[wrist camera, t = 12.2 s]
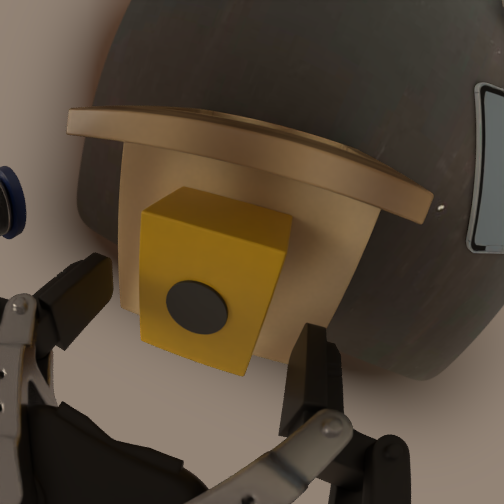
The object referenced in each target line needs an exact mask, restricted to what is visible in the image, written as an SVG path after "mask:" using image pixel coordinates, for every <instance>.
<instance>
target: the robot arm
mask: <svg viewBox="0 0 504 504" xmlns="http://www.w3.org/2000/svg"><path fill="white" fill-rule="evenodd" d="M12 226H13V207H12V202H11V198H10V195H9V192H8V190H7V187H6V185H5V184H4V182H3V181H2V180H1V179H0V236H2V235H4V234H6V233H8V232H9V231H10V230H11V229H12ZM112 294H113V273H112V261H111V259H110V258H108V257H106V256H103V255H101V254H98V253H92V254H91V255H90V256H88V257H87V258H86V259H84V260H80V261H78V262H75V263H73V264H71V265H70V266H68V267H67V268H66V269H64V270H63V272H61V273H59V274H58V275H57V277H54V278H53V279H52V280H51V281H49V282H48V283H47V284H46V285H44V286H43V287H42V288H41V289H40V290H38V291H37V292H36V293H35V294H34V295H32V296H31V295H30V294H25V293H23V294H18V295H15V296H13V297H12V298H11V299H10V300H8V299H5V298H1V297H0V504H291V503H292V502H294V501H295V500H296V499H297V498H298V497H299V496H300V495H301V494H302V493H304V491H305V490H306V489H307V488H308V485H309V484H310V482H311V481H313V480H314V478H319V479H321V480H323V481H326V482H329V483H331V488H330V495H329V502H328V504H411V473H410V454H409V449H408V446H407V444H406V443H405V442H404V441H403V440H402V439H401V438H400V437H398V436H395V435H384V436H382V437H380V438H379V439H378V440H376V439H374V438H371V437H369V436H366V435H364V434H362V433H359V432H358V431H356V430H354V429H353V426H352V423H351V421H350V420H349V418H348V417H347V416H346V415H344V406H343V384H342V377H341V376H342V368H341V355H340V353H339V351H338V349H337V347H336V345H335V344H334V343H330V342H327V338H326V328H325V327H322V326H319V325H315V324H311V323H305V325H304V327H303V329H302V331H301V333H300V335H299V337H298V339H297V341H296V343H295V345H294V347H293V349H292V352H291V355H290V358H289V362H288V369H287V378H286V385H285V393H284V401H283V408H282V414H281V422H280V428H279V436H283V437H287V438H286V439H285V440H284V441H283V442H281V443H280V444H279V445H278V446H276V447H275V448H274V449H272V450H271V451H268V452H266V453H264V454H263V455H261V456H260V457H259V458H257V459H256V460H254V461H253V462H251V463H250V464H249V465H247V466H246V467H244V468H243V469H241V470H240V471H238V472H237V473H235V474H234V475H232V476H231V477H229V478H228V479H226V480H224V481H223V482H221V483H219V484H218V485H216V486H215V487H213V488H211V489H208V488H207V487H206V485H205V484H204V483H203V482H202V481H201V480H200V479H199V478H198V477H197V476H195V475H194V474H192V473H191V472H190V471H188V470H187V469H185V468H184V467H183V464H184V462H183V460H180V459H177V458H175V457H172V456H169V455H167V454H164V453H161V452H159V451H156V450H154V449H151V448H148V447H143V446H138V445H133V444H129V443H124V442H120V441H116V440H114V439H112V438H111V437H110V436H108V435H107V434H106V433H105V432H104V431H103V430H101V429H100V428H99V427H98V426H97V425H96V424H95V423H94V422H93V421H92V420H91V419H90V418H88V417H87V416H86V415H84V414H82V413H80V412H79V411H77V410H76V409H74V408H72V407H70V406H69V405H68V404H66V403H65V402H63V401H62V402H61V404H60V405H59V407H58V406H57V402H56V399H55V396H54V389H53V351H52V349H53V347H54V346H55V345H56V346H58V347H59V348H61V349H63V350H64V351H65V350H66V349H67V348H68V346H69V345H70V344H71V343H72V342H73V341H74V340H75V338H76V337H77V336H78V335H79V334H80V333H81V331H82V330H83V329H84V328H85V327H86V326H87V325H88V324H89V323H90V321H91V320H92V319H93V318H94V317H95V316H96V315H97V314H98V313H99V312H100V311H101V310H102V309H103V307H104V306H105V305H106V304H107V303H108V302H109V301H110V299H111V297H112Z"/></svg>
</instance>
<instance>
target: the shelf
mask: <svg viewBox="0 0 504 504" xmlns="http://www.w3.org/2000/svg"><path fill="white" fill-rule="evenodd" d="M66 134H67V135H74V136H83V137H92V138H100V139H107V140H114V141H121V142H124V146H123V156H122V166H121V178H120V193H119V216H118V264H119V288H120V303H121V308H123V309H126V310H128V311H131V312H133V313H135V314H138V315H140V312H139V248H140V226H141V212H142V210H144V209H145V208H147V207H149V206H150V205H152V204H154V203H155V202H157V201H159V200H160V199H162V198H164V197H165V196H167V195H169V194H170V193H172V192H174V191H176V190H177V189H179V188H181V187H183V186H185V187H189V188H193V189H197V190H201V191H205V192H209V193H212V194H216V195H220V196H224V197H228V198H231V199H235V200H239V201H242V202H246V203H249V204H253V205H257V206H260V207H264V208H267V209H271V210H274V211H278V212H281V213H284V214H288V215H291V216H292V217H293V220H292V226H291V232H290V239H289V245H288V251H287V256H286V259H285V262H284V265H283V268H282V271H281V274H280V277H279V280H278V283H277V286H276V288H275V291H274V294H273V297H272V300H271V303H270V306H269V309H268V312H267V315H266V317H265V320H264V323H263V326H262V329H261V331H260V334H259V337H258V340H257V343H256V345H255V348H254V351H253V354H252V355H255V356H259V357H262V358H266V359H270V360H273V361H277V362H281V363H285V364H288V362H289V358H290V355H291V352H292V349H293V347H294V345H295V343H296V341H297V339H298V337H299V335H300V333H301V331H302V329H303V327H304V325H305V323H311V324H315V325H319V326H322V327H325V328H326V329H327V327H328V325H329V323H330V321H331V319H332V317H333V315H334V313H335V311H336V309H337V307H338V305H339V303H340V301H341V299H342V297H343V295H344V293H345V291H346V289H347V287H348V285H349V283H350V281H351V279H352V276H353V274H354V272H355V270H356V268H357V266H358V263H359V261H360V259H361V257H362V254H363V252H364V250H365V247H366V245H367V243H368V240H369V238H370V236H371V233H372V231H373V228H374V226H375V223H376V221H377V218H378V216H379V213H380V211H381V209H382V210H385V211H387V212H390V213H392V214H395V215H398V216H400V217H403V218H405V219H408V220H410V221H413V222H415V223H418V224H423V222H424V220H425V217H426V215H427V213H428V210H429V208H430V205H431V202H432V200H433V197H434V195H433V194H432V193H431V192H430V191H428V190H427V189H425V188H424V187H422V186H421V185H419V184H417V183H416V182H414V181H413V180H411V179H409V178H408V177H406V176H404V175H403V174H401V173H399V172H398V171H396V170H394V169H392V168H391V167H389V166H387V165H385V164H384V163H382V162H380V161H378V160H376V159H375V158H373V157H371V156H369V155H367V154H365V153H363V152H361V151H359V150H357V149H355V148H352V147H350V146H347V145H344V144H341V143H338V142H335V141H332V140H329V139H326V138H323V137H319V136H316V135H313V134H310V133H306V132H303V131H299V130H296V129H292V128H288V127H285V126H281V125H277V124H273V123H269V122H265V121H261V120H256V119H252V118H247V117H243V116H238V115H233V114H228V113H222V112H217V111H211V110H205V109H196V108H183V107H167V106H94V107H78V108H71V109H69V111H68V120H67V131H66Z"/></svg>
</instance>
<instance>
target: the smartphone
mask: <svg viewBox="0 0 504 504" xmlns="http://www.w3.org/2000/svg"><path fill="white" fill-rule="evenodd" d="M474 92H475V106H476V167H475V181H474V191H473V200H472V208H471V215H470V221H469V227H468V233H467V238H466V245H467V247H468V249H469V250H470V251H471V252H473V253H504V89H502V88H499V87H496V86H494V85H491V84H488V83H478V84H477V85H476V86H475V90H474Z"/></svg>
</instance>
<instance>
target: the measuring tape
mask: <svg viewBox="0 0 504 504" xmlns="http://www.w3.org/2000/svg"><path fill="white" fill-rule="evenodd" d="M292 220H293V217H292V216H291V215H288V214H284V213H281V212H278V211H274V210H271V209H267V208H264V207H260V206H257V205H253V204H249V203H246V202H242V201H239V200H235V199H231V198H228V197H224V196H220V195H216V194H212V193H209V192H205V191H201V190H197V189H193V188H189V187H185V186H183V187H181V188H179V189H177V190H176V191H174V192H172V193H170V194H169V195H167V196H165V197H164V198H162V199H160V200H159V201H157V202H155V203H154V204H152V205H150V206H149V207H147V208H145V209H144V210H142V212H141V226H140V248H139V312H140V333H141V340H142V341H144V342H146V343H148V344H151V345H153V346H156V347H158V348H161V349H163V350H166V351H168V352H171V353H174V354H176V355H179V356H182V357H184V358H187V359H190V360H193V361H195V362H198V363H202V364H204V365H207V366H210V367H213V368H216V369H219V370H222V371H226V372H229V373H233V374H235V375H239V376H244V375H245V372H246V370H247V367H248V365H249V362H250V359H251V356H252V354H253V351H254V348H255V345H256V343H257V340H258V337H259V334H260V331H261V329H262V326H263V323H264V320H265V317H266V315H267V312H268V309H269V306H270V303H271V300H272V297H273V294H274V291H275V288H276V286H277V283H278V280H279V277H280V274H281V271H282V268H283V265H284V262H285V259H286V256H287V251H288V245H289V239H290V232H291V226H292Z"/></svg>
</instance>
